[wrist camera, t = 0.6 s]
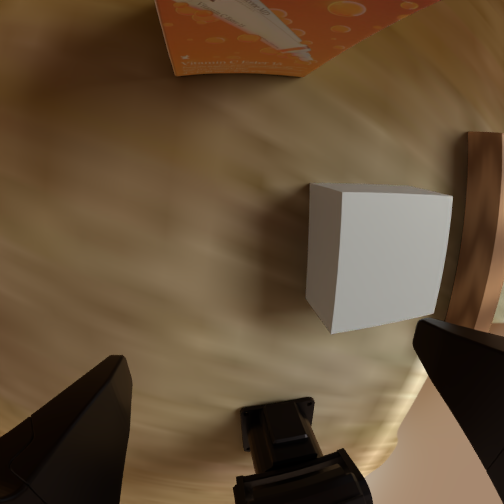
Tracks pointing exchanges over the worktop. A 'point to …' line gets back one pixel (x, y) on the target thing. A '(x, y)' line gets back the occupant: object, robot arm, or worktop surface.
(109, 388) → the robot arm
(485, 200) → the board
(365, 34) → the small box
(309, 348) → the worktop surface
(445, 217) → the block
